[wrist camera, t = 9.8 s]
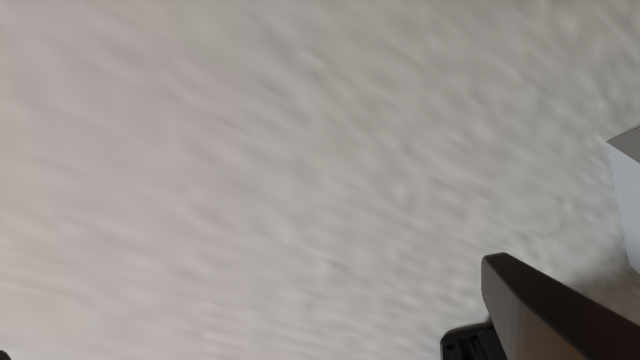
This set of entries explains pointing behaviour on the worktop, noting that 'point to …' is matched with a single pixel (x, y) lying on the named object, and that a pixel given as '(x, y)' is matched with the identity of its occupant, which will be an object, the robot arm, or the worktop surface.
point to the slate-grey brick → (627, 189)
